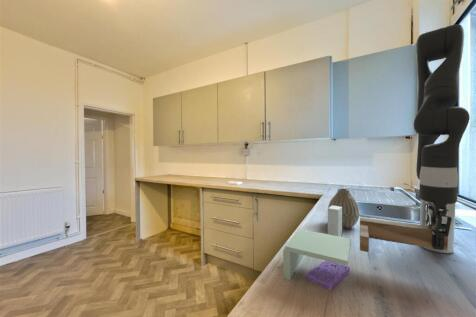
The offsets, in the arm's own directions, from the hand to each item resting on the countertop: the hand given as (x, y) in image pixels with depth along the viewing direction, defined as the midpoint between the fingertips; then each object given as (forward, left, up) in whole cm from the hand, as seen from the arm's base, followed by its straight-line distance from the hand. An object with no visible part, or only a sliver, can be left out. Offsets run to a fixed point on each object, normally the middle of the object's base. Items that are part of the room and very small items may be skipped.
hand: (435, 245), depth 59 cm
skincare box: (-19, -27, -10) cm, 34 cm away
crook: (+5, -8, -1) cm, 10 cm away
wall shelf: (+13, -27, -10) cm, 32 cm away
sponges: (+13, -25, -10) cm, 30 cm away
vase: (-33, -25, -10) cm, 42 cm away
